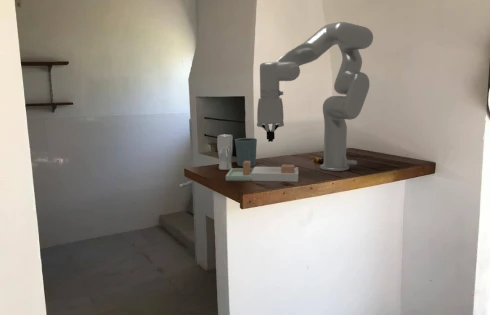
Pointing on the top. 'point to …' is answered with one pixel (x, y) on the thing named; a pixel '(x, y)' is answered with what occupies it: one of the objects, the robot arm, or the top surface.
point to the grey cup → (246, 150)
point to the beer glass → (225, 151)
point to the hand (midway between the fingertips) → (270, 141)
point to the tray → (237, 175)
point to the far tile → (246, 167)
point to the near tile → (287, 168)
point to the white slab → (273, 174)
